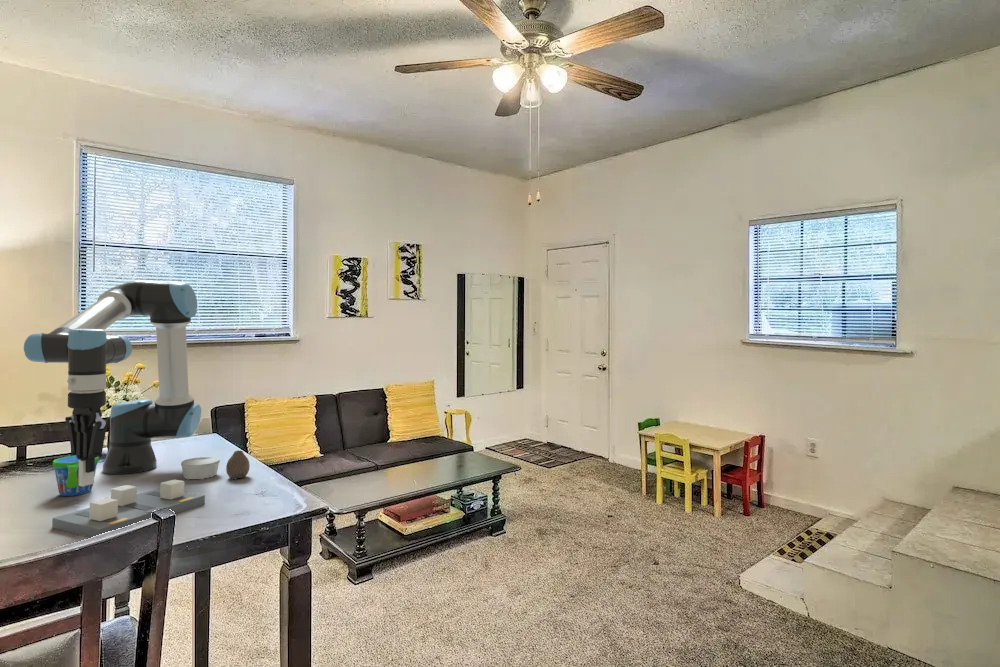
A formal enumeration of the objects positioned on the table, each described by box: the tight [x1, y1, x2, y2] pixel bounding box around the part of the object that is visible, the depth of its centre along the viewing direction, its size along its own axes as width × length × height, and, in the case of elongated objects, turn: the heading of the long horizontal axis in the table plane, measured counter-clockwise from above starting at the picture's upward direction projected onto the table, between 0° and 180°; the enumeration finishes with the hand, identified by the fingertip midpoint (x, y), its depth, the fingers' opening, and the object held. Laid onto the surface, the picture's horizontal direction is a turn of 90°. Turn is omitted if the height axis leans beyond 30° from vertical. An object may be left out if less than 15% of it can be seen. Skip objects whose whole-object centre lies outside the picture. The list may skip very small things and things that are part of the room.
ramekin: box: [180, 456, 221, 480], centre depth 175 cm, size 11×11×5 cm
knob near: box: [89, 497, 118, 521], centre depth 130 cm, size 4×4×4 cm
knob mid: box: [110, 484, 138, 506], centre depth 140 cm, size 4×4×4 cm
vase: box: [225, 450, 251, 479], centre depth 175 cm, size 7×7×9 cm
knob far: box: [159, 478, 185, 500], centre depth 147 cm, size 4×4×4 cm
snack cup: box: [52, 455, 100, 497], centre depth 155 cm, size 16×10×10 cm
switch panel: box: [51, 487, 206, 538], centre depth 139 cm, size 17×28×3 cm, turn 159°
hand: (86, 484), depth 133 cm, fingers closed
